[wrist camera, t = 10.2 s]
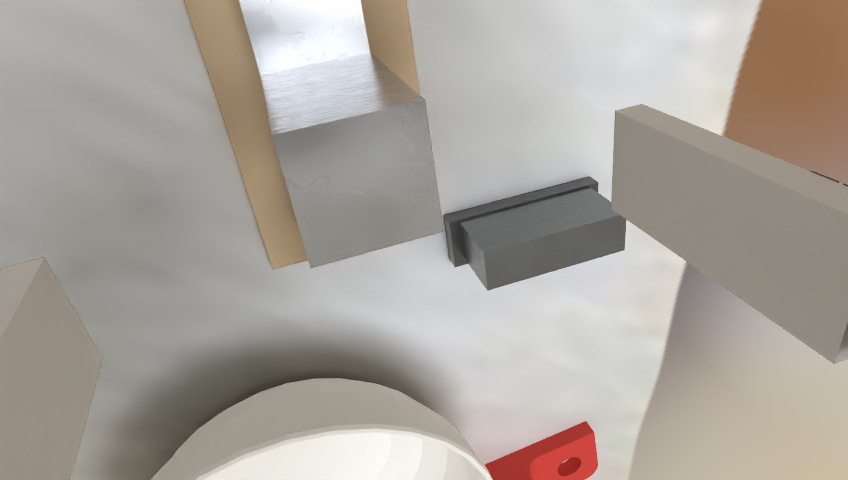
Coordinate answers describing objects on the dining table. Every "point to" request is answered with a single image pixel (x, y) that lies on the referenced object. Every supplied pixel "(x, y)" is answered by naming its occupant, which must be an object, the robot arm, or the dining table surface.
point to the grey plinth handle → (535, 233)
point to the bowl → (326, 438)
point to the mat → (247, 114)
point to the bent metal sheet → (342, 130)
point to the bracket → (551, 458)
